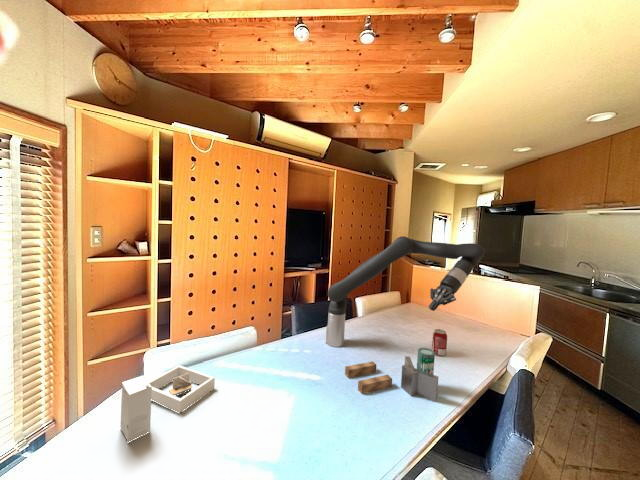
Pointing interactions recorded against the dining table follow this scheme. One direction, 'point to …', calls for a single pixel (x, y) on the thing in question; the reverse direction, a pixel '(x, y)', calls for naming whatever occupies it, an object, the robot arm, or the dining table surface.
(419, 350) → the can
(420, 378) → the v cradle
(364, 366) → the wooden bar pair
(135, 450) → the dining table surface
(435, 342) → the soda can
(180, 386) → the architectural model
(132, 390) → the skincare box
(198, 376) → the holder tray
